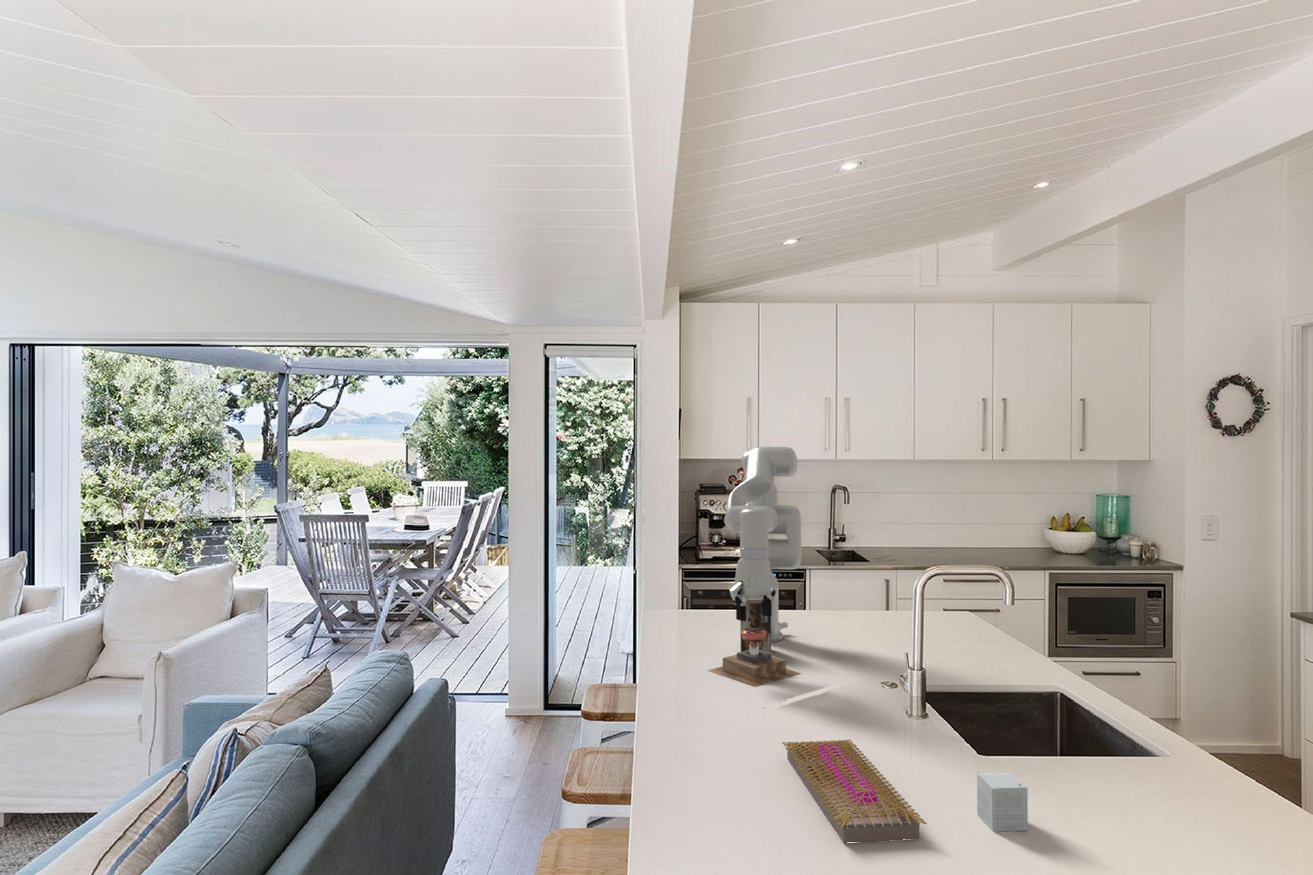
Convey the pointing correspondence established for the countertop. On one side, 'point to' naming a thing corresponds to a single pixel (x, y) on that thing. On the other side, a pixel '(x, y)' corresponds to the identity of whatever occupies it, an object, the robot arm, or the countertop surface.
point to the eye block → (754, 668)
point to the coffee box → (756, 624)
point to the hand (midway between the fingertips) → (754, 617)
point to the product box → (1002, 802)
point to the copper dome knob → (754, 638)
